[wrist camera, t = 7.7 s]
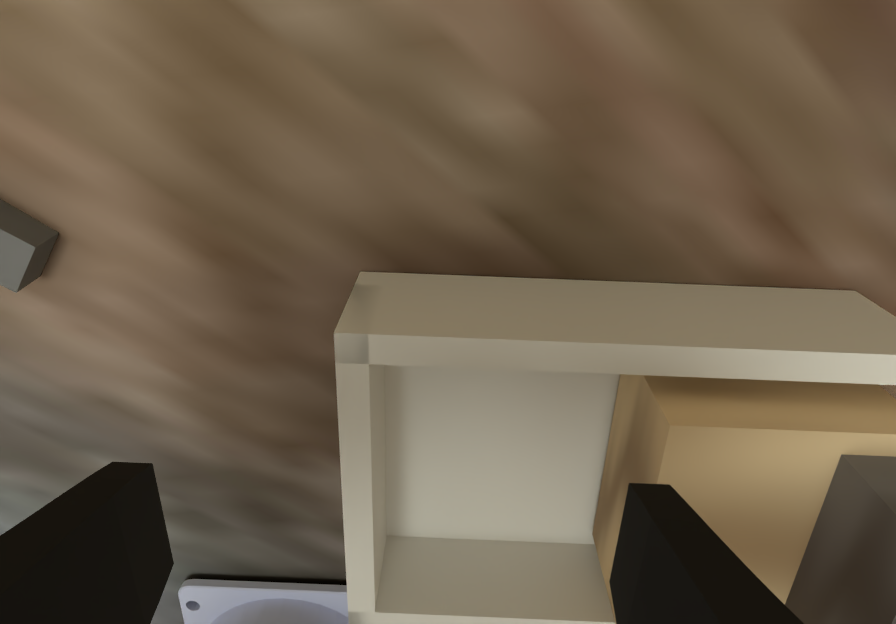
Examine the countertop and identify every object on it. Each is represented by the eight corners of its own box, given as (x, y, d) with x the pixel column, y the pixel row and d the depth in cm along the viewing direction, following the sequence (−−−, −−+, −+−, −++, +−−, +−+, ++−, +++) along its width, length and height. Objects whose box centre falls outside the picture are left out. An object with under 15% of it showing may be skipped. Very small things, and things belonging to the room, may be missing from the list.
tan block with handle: (772, 541, 20) (910, 766, 14) (592, 534, 20) (649, 755, 14) (838, 350, 17) (1051, 529, 11) (625, 342, 17) (718, 515, 11)
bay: (767, 547, 22) (829, 649, 18) (367, 530, 22) (348, 629, 18) (854, 290, 18) (957, 357, 14) (360, 271, 18) (333, 332, 14)
